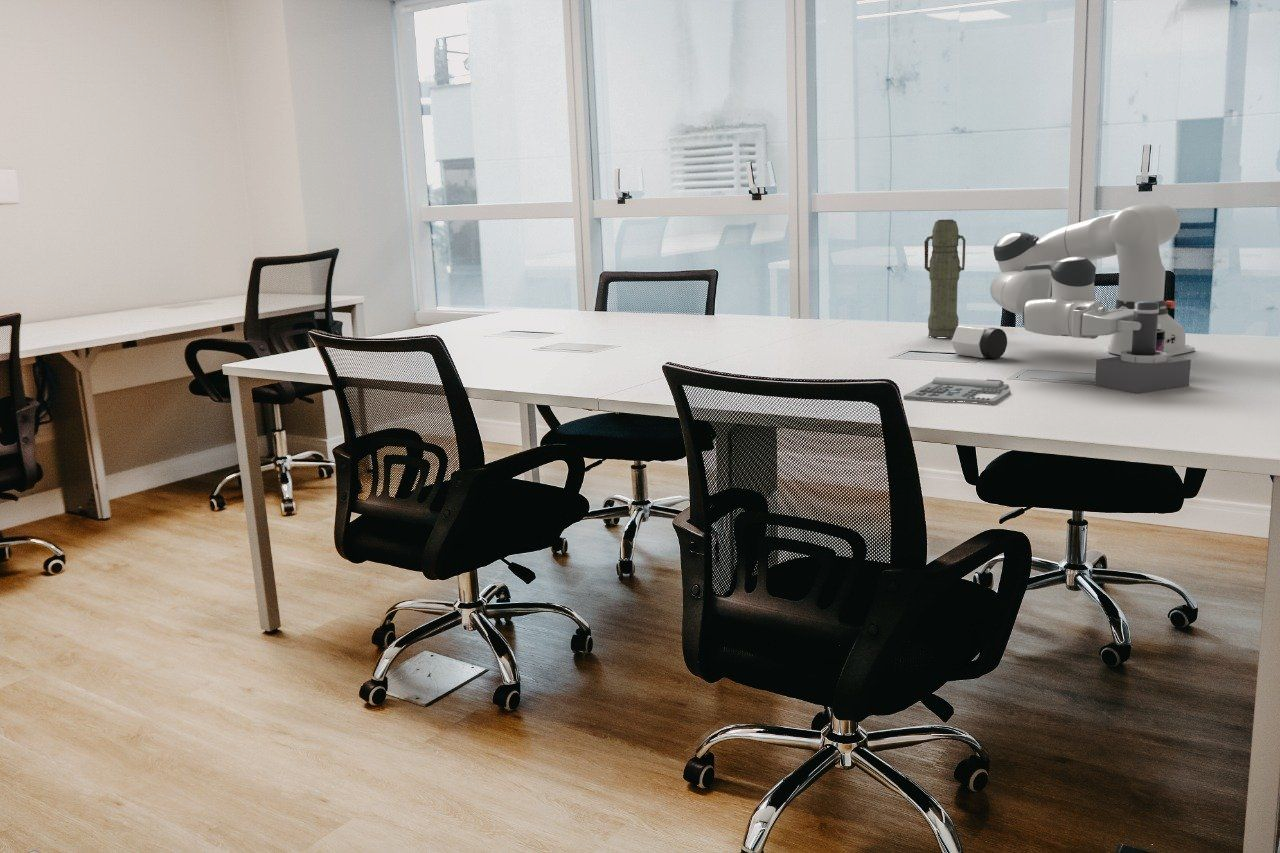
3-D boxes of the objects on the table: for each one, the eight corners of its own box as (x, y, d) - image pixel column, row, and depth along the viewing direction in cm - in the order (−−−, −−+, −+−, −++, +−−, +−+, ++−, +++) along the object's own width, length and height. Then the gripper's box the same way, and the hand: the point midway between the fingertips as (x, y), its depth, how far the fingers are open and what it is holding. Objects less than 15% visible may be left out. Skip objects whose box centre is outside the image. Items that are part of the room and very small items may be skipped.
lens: (1142, 356, 253) (1145, 300, 250) (1160, 359, 249) (1164, 302, 246) (1125, 359, 251) (1128, 301, 248) (1143, 362, 247) (1147, 303, 244)
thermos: (922, 334, 340) (925, 219, 332) (962, 334, 337) (965, 218, 329) (922, 338, 332) (924, 221, 324) (963, 338, 329) (966, 220, 321)
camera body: (1145, 377, 260) (1147, 346, 258) (1188, 385, 249) (1191, 352, 247) (1095, 385, 254) (1096, 353, 252) (1137, 393, 243) (1139, 360, 241)
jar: (950, 356, 300) (985, 361, 290) (951, 326, 298) (986, 330, 288) (972, 352, 304) (1008, 357, 294) (973, 323, 302) (1009, 327, 293)
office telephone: (935, 373, 265) (1020, 378, 255) (935, 384, 266) (1019, 389, 255) (903, 389, 246) (993, 395, 235) (903, 401, 247) (993, 407, 236)
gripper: (1107, 327, 265) (1166, 331, 255) (1068, 338, 251) (1129, 343, 241) (1108, 301, 264) (1168, 304, 254) (1070, 310, 250) (1131, 314, 240)
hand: (1149, 323), depth 247 cm, fingers open, 8 cm apart
